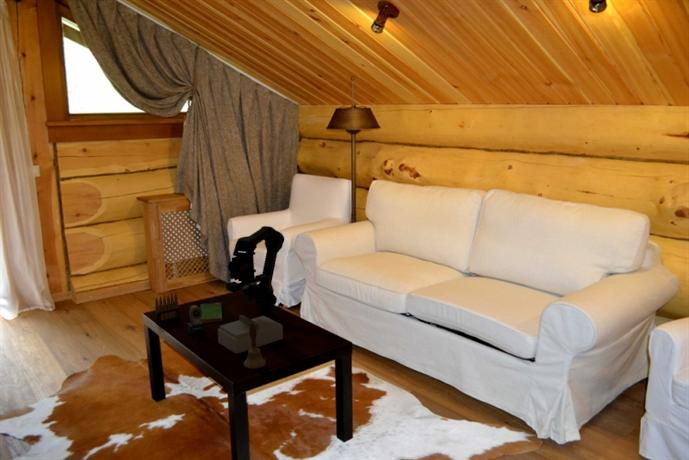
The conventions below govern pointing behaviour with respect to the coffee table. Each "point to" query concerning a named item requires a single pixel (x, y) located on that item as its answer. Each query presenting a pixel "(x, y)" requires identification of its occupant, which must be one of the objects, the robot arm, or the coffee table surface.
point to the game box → (211, 312)
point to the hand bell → (254, 352)
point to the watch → (195, 320)
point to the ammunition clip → (166, 309)
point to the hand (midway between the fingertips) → (249, 301)
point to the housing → (266, 334)
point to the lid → (239, 327)
